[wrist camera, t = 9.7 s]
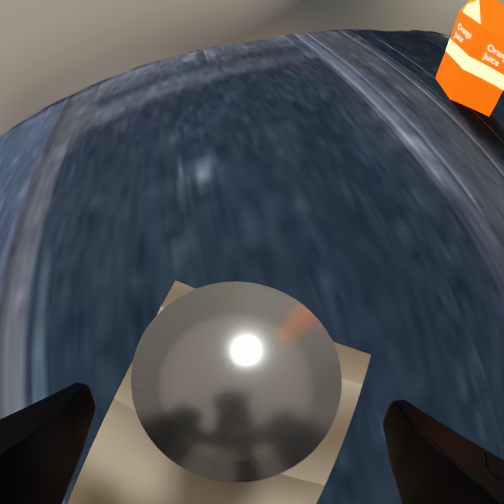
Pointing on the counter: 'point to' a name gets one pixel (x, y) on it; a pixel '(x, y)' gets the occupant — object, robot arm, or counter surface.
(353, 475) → the counter surface
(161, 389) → the steel peg
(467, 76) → the orange juice
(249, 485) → the birch hole board
